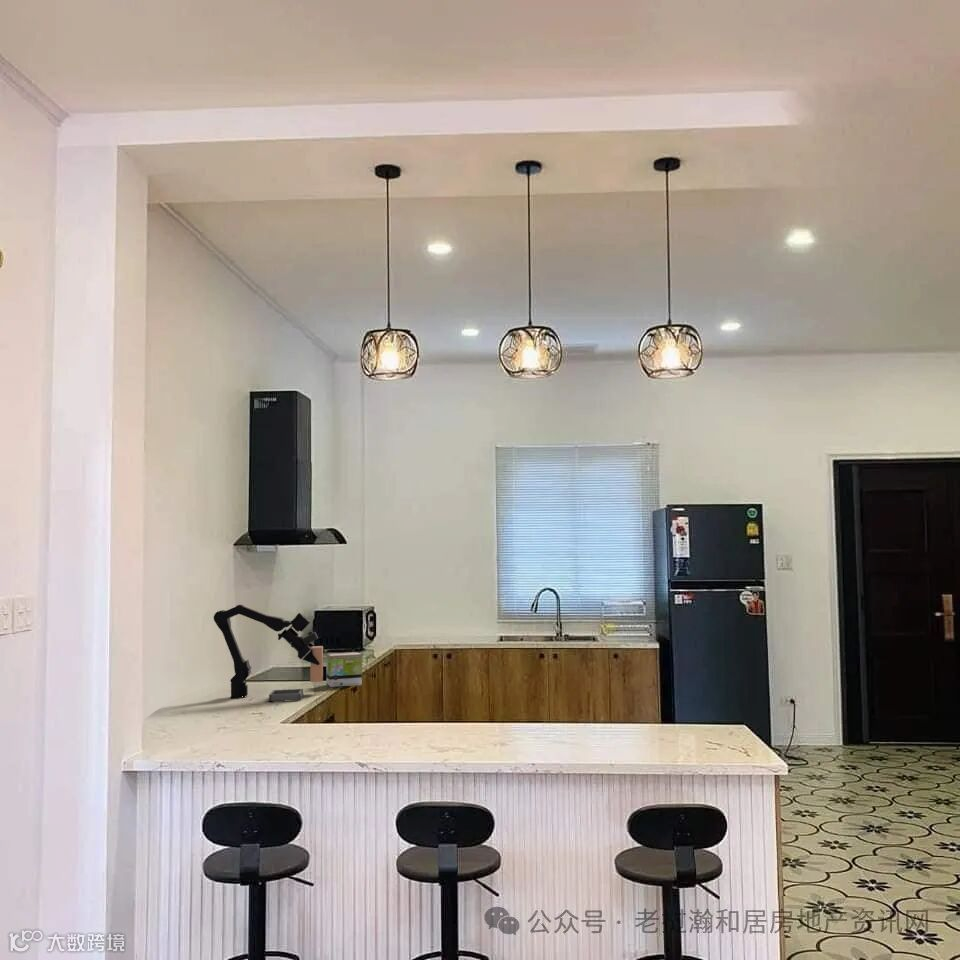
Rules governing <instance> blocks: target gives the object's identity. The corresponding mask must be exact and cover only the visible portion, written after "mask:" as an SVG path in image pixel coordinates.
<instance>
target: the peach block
mask: <svg viewBox="0 0 960 960" xmlns="http://www.w3.org/2000/svg"><path fill="white" fill-rule="evenodd" d="M312 649H313V655H314V656H315V657H316V659H317V660H318V662H319V663H320V664H319V665H316V664H313V663H311V662H310V663H309V665H310V671H309V672H310V673H309V674H310V679H309V680H310V681H309V682H310V683H320V682H321V683H323V680H324V646H323V645H316V646H315V645H314V646H312V647H311V650H312Z"/></svg>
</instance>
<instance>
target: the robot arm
mask: <svg viewBox="0 0 960 960" xmlns="http://www.w3.org/2000/svg"><path fill="white" fill-rule="evenodd" d="M237 615H241V616H243V617H246V618H249V619H250V620H254V621H257V622H259V623H262V624H263V625H265V626H267V627H268V628H269V629H271V630H272V631H274V632H280V633H278V634H277V636H278V637H277V640H278V641H280V640H281V639H282V638H283V640H284V641H286V642H287V643H288V644H289V646H290V647H291V648H293V649H294V650H295V651H296V652H297V657H298V659H299V660H302V661H305V662H309V663H310V664H311V663H313V664H316V665H319V664H320V663H319V662H318V660H317V659H316V657H315V656H314V655H313V649H312V650H311V647H312V646H315V644H314V643H313V641H317V640H318V639H319V636H318V634H317V632H316V631H314V632H313V631H312V630H311V631H308V634H307V635H305V636H303V635H299V632H302V633H303V631H304V630H305V629H306V628H307V627H308V626H309V625H310V623H311V620H309V618H308V617H306V616H304V614H302V613H301V612H298V613H297V614H296V616H295V617H294V618H293V619H292V620H286V619H285V618H283V617H280V616H279V617H278V616H275V615H268V614H265V613H263V612H261V611H260V612H259V611H258V610H255V609H252V608H250V607H247V606H245V605H243V604H237V605H235V606H234V607H232V608H230V609H229V608H228V609H226V610H224V609H222V610H218V611H216V612H215V613H214V615H213V621H214V622H215V624H216V627H218V629H219V630H220V631H221V633H222V636H223V638H224V640H225V643H226V645H227V648H228V651H229V653H230V656H231V659H232V661H233V669H234V675H233V676H232V677H231V678H230V680H229V681H230V697H242V696H243V697H244V698H246V697H247V696H248V695H249V689H248V688H249V686H248V684H247V681H246V680H247V678H249V677H250V676H251V673H252V666H251V665H250V660H249V659H246V660H245V659H244V657H243V655H242V652H241V649H240V647H239V645H238V642H237V639H236V638H235V633H233V630H232V623H231V622H232V621H231V618H232V617H233V618H234V616H237ZM289 626H290V627H289ZM288 627H289V628H288ZM287 628H288V629H287ZM281 631H282V632H281ZM245 696H246V697H245Z"/></svg>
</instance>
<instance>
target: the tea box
mask: <svg viewBox="0 0 960 960" xmlns="http://www.w3.org/2000/svg"><path fill="white" fill-rule="evenodd" d="M362 655H363V654H361V653H360V652H357V651H356V652H355V651H354V652H353V651H352V652H337V653H336V652H335V653H326V667H325V669H326V675H325V676H326V677H325V678H326V680H325V681H326V685H327V684H328V685H329V686H330V687H329V686H328V685H327V686H328V687H329V688H336V687H350V686H352V687H353V686H362V684H363V683H362V681H363V670H362V669H363V659H362V658H363V657H362Z"/></svg>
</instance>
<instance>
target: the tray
mask: <svg viewBox="0 0 960 960" xmlns="http://www.w3.org/2000/svg"><path fill="white" fill-rule="evenodd" d="M268 696H269V697H268V702H269V701H283V702H286V701H285V700H300V701H302V699H303V697H304V688H293V689H288V688H287V689H273V690H272V691H271V692H270V693H269V694H268ZM302 696H303V697H302ZM301 698H302V699H301Z"/></svg>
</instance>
